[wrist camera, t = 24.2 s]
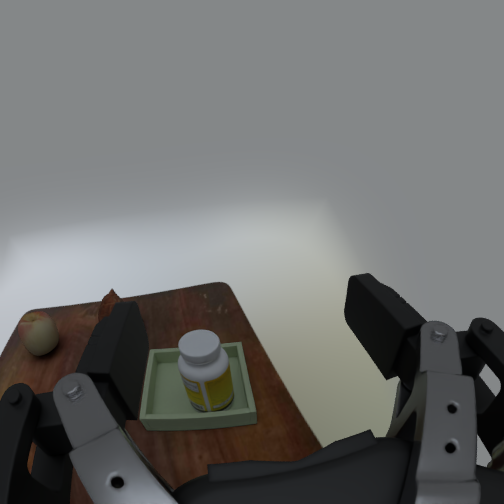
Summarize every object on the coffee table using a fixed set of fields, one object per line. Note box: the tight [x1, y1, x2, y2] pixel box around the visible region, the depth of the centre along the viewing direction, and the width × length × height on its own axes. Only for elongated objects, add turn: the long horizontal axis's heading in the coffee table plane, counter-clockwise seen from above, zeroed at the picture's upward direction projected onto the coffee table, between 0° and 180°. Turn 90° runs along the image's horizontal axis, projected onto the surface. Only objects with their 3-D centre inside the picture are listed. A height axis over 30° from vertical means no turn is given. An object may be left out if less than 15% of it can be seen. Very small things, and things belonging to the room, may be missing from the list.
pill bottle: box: [178, 330, 234, 413], centre depth 31 cm, size 6×6×11 cm
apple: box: [18, 311, 59, 356], centre depth 38 cm, size 9×9×8 cm
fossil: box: [98, 289, 124, 322], centre depth 48 cm, size 13×8×10 cm
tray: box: [139, 342, 257, 431], centre depth 34 cm, size 15×14×3 cm
